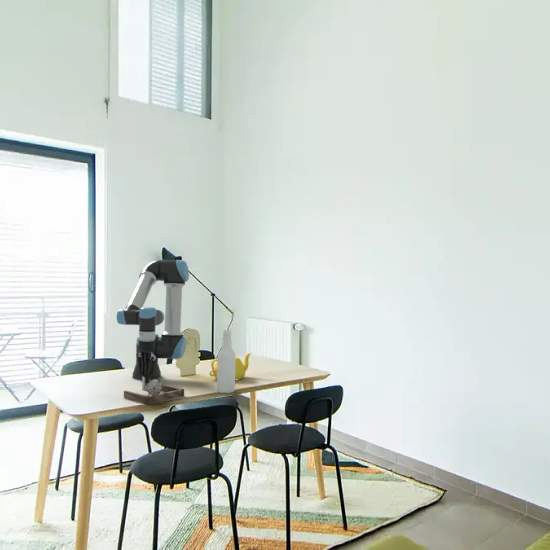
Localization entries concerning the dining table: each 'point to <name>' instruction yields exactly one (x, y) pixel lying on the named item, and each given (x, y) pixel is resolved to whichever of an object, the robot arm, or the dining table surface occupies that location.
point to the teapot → (239, 367)
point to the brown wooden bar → (169, 394)
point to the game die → (154, 387)
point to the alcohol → (226, 365)
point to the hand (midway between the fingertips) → (145, 390)
